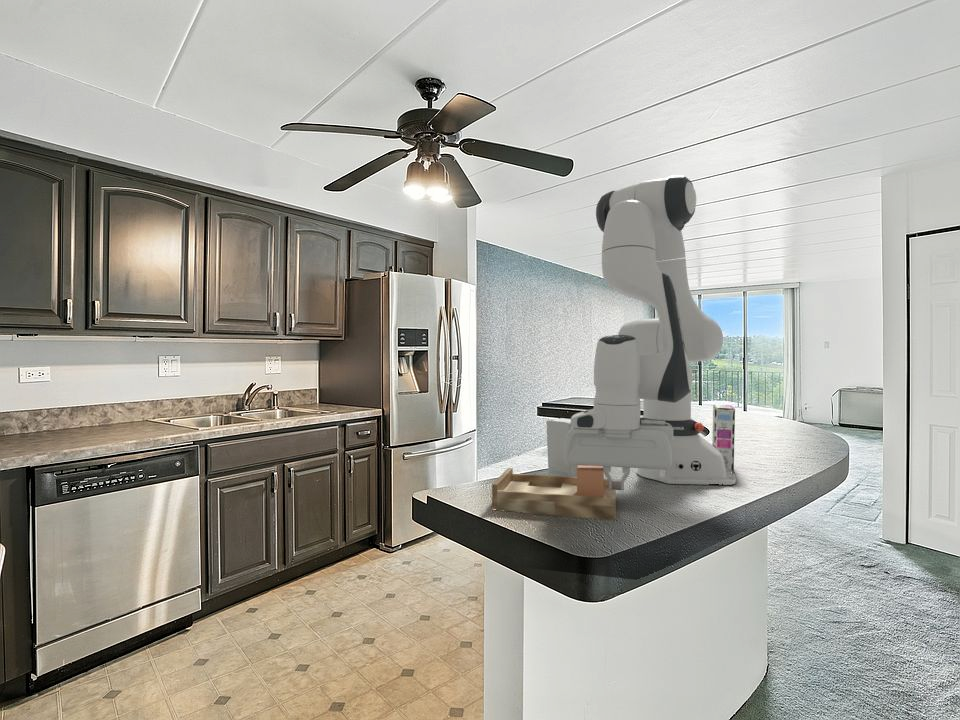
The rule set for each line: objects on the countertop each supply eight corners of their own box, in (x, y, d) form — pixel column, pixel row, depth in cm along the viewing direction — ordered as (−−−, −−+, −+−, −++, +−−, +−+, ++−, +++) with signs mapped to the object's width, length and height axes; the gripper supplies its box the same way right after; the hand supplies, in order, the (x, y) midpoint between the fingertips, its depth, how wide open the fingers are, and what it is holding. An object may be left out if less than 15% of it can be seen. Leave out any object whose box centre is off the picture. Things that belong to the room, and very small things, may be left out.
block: (604, 490, 104) (603, 465, 104) (603, 497, 99) (603, 471, 99) (578, 489, 105) (578, 465, 105) (577, 496, 100) (576, 470, 100)
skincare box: (589, 485, 119) (589, 420, 119) (570, 488, 116) (570, 422, 116) (564, 477, 126) (564, 416, 126) (545, 481, 123) (545, 418, 123)
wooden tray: (615, 497, 108) (615, 474, 108) (615, 520, 94) (615, 492, 94) (508, 490, 114) (508, 467, 114) (492, 510, 100) (492, 484, 100)
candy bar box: (735, 473, 130) (735, 408, 130) (713, 472, 132) (713, 407, 132) (732, 464, 141) (732, 404, 140) (711, 463, 143) (712, 403, 142)
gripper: (671, 418, 101) (671, 488, 101) (565, 414, 106) (565, 482, 106) (675, 422, 95) (674, 497, 95) (563, 418, 100) (562, 489, 100)
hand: (616, 489), depth 101 cm, fingers closed
